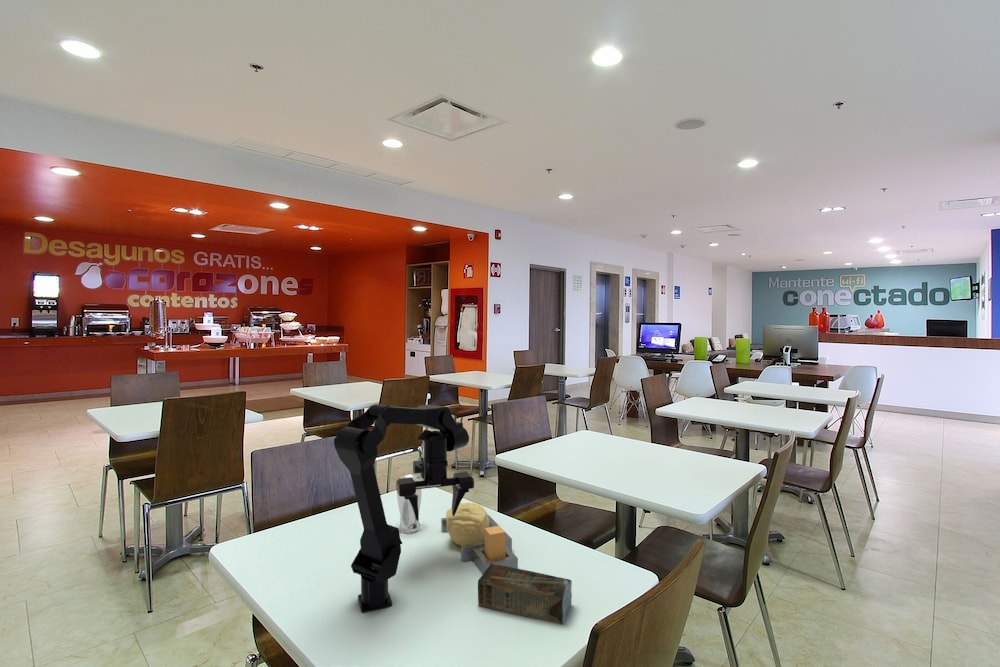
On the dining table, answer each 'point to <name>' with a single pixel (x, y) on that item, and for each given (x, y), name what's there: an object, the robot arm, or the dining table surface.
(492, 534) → the orange rectangular block
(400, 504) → the beer glass
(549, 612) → the beverage carton
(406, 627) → the dining table surface
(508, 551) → the grey flat openwork piece
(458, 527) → the sculpture
